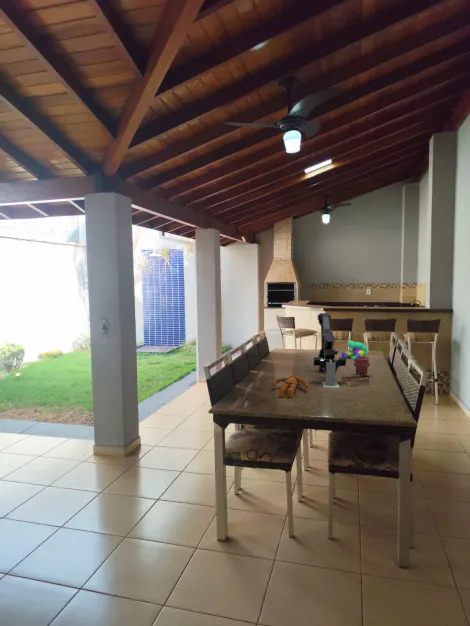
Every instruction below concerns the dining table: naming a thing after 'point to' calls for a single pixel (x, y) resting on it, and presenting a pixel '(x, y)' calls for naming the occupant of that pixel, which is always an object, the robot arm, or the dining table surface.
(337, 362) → the robot arm
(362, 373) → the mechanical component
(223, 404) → the dining table surface
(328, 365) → the slate block
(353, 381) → the walnut rack
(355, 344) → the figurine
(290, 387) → the toy
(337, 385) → the sage mat
